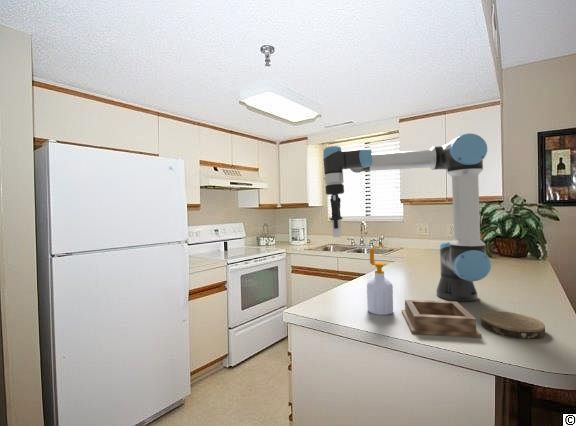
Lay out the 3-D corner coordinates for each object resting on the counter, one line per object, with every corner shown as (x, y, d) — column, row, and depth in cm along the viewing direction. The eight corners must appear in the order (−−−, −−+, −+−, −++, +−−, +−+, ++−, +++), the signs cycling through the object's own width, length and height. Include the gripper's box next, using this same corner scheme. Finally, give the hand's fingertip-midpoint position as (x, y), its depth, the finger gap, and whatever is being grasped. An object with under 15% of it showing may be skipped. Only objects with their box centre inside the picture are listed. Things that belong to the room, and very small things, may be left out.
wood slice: (545, 327, 94) (545, 318, 94) (544, 345, 82) (544, 334, 82) (485, 316, 104) (485, 308, 104) (476, 331, 93) (476, 321, 93)
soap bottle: (389, 317, 106) (388, 247, 105) (364, 312, 110) (362, 246, 110) (395, 309, 113) (394, 244, 113) (371, 305, 118) (370, 243, 118)
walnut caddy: (458, 314, 106) (458, 300, 106) (481, 337, 87) (481, 320, 87) (401, 312, 110) (401, 298, 110) (411, 333, 91) (411, 317, 91)
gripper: (327, 187, 138) (331, 234, 137) (322, 182, 113) (325, 238, 113) (344, 186, 136) (347, 233, 135) (342, 180, 112) (346, 237, 111)
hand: (337, 235), depth 124 cm, fingers open, 13 cm apart
